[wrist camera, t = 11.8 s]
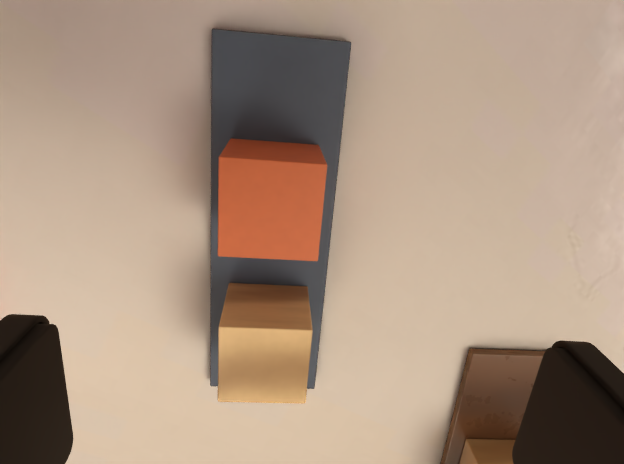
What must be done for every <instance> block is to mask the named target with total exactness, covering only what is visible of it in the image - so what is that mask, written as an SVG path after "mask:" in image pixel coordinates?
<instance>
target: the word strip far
mask: <svg viewBox="0 0 624 464" xmlns="http://www.w3.org/2000/svg"><path fill="white" fill-rule="evenodd" d="M544 353H545V351H528V350H499V349H469V352H468V356H467V360H466V364H465V368H464V372H463V376H462V380H461V384H460V388H459V392H458V396H457V400H456V404H455V408H454V412H453V416H452V420H451V424H450V428H449V432H448V436H447V440H446V444H445V448H444V452H443V456H442V460H441V464H459V463H460V459H461V456H462V452H463V448H464V445H465V441H466V439H508V440H516V437H517V434H518V431H519V428H520V425H521V422H522V419H523V416H524V413H525V410H526V406H527V403H528V400H529V397H530V394H531V391H532V388H533V385H534V382H535V379H536V376H537V373H538V370H539V367H540V364H541V361H542V358H543V355H544Z"/></svg>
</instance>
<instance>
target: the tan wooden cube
mask: <svg viewBox="0 0 624 464" xmlns="http://www.w3.org/2000/svg"><path fill="white" fill-rule="evenodd" d="M312 332H313V330H312V321H311V312H310V303H309V294H308V287H307V286H287V285H265V284H243V283H229V285H228V289H227V293H226V298H225V302H224V306H223V310H222V315H221V319H220V323H219V333H218V401H219V402H261V403H305V402H306V392H307V382H308V372H309V362H310V352H311V342H312Z"/></svg>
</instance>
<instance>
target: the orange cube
mask: <svg viewBox="0 0 624 464" xmlns="http://www.w3.org/2000/svg"><path fill="white" fill-rule="evenodd" d="M326 174H327V163H326V161H325V158H324V156H323V154H322V151H321V149H320V147H319V145H313V144H300V143H286V142H273V141H259V140H246V139H232V138H231V139H230V140H229V142H228V143H227V145H226V147H225V148H224V150H223V151H222V153H221V154H220V156H219V168H218V256H222V257H242V258H262V259H282V260H302V261H318V255H319V245H320V235H321V225H322V215H323V204H324V194H325V184H326Z"/></svg>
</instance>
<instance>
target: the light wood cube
mask: <svg viewBox="0 0 624 464" xmlns="http://www.w3.org/2000/svg"><path fill="white" fill-rule="evenodd" d="M514 443H515V440H508V439H466V441H465V445H464V448H463V452H462V456H461V459H460V463H459V464H513V459H512V450H513V446H514Z"/></svg>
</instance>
